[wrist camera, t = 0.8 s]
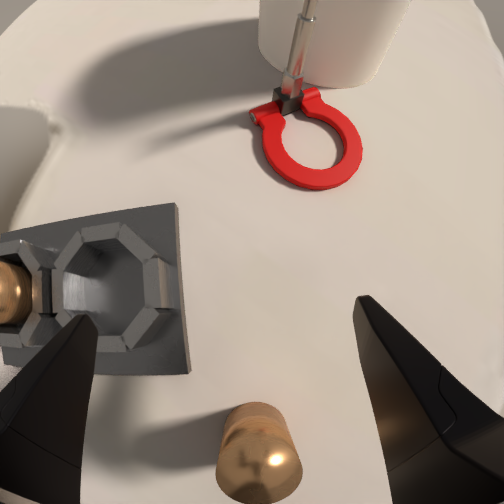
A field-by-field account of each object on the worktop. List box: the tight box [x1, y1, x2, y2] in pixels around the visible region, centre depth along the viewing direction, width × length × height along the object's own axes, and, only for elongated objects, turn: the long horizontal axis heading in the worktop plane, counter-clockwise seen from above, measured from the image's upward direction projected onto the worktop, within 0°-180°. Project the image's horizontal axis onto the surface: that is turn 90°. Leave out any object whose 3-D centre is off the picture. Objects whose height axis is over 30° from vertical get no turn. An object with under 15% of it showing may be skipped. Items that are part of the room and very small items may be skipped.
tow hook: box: [249, 0, 363, 190], centre depth 17 cm, size 8×13×9 cm
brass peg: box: [216, 402, 303, 504], centre depth 15 cm, size 4×4×7 cm
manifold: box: [0, 203, 192, 375], centre depth 16 cm, size 18×12×8 cm, turn 96°
